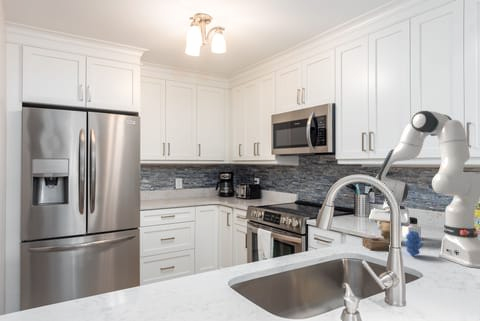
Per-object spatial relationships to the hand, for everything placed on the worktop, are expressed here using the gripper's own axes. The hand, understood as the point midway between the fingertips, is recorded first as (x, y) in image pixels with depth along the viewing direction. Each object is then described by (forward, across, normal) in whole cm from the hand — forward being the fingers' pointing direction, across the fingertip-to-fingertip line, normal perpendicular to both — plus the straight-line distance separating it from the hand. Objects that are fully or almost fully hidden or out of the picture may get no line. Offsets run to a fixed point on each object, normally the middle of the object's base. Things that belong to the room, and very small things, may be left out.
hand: (386, 229), depth 167 cm
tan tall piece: (+5, 0, +6) cm, 7 cm away
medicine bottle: (-12, +8, +22) cm, 26 cm away
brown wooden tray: (+14, -2, -4) cm, 15 cm away
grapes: (+18, +16, -7) cm, 25 cm away
